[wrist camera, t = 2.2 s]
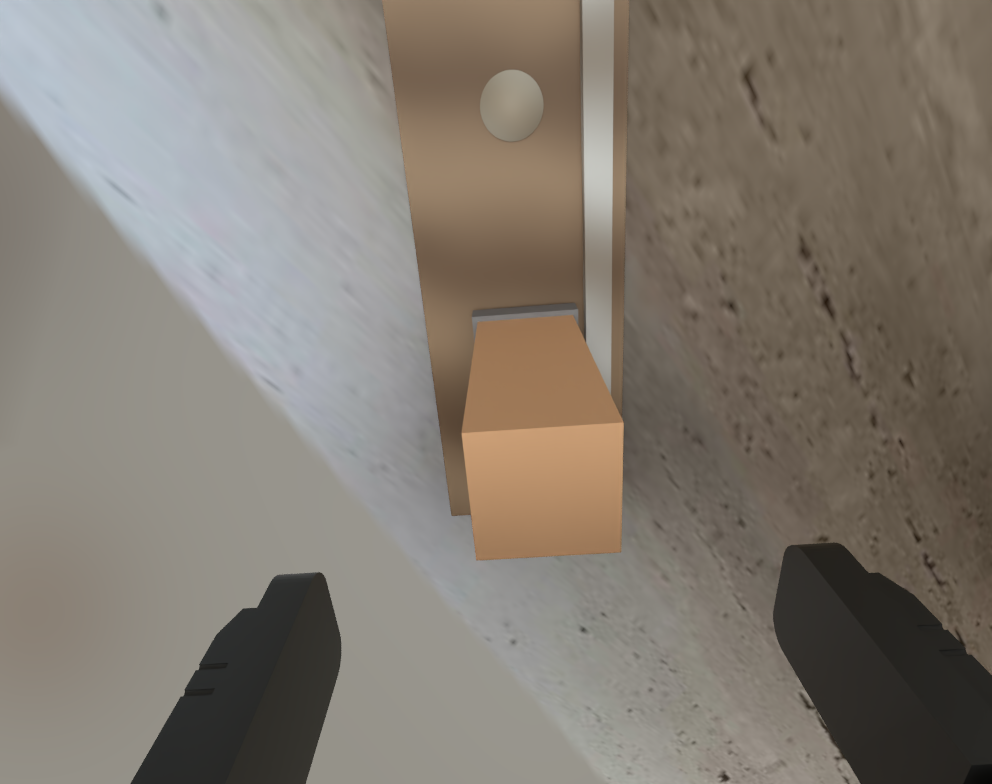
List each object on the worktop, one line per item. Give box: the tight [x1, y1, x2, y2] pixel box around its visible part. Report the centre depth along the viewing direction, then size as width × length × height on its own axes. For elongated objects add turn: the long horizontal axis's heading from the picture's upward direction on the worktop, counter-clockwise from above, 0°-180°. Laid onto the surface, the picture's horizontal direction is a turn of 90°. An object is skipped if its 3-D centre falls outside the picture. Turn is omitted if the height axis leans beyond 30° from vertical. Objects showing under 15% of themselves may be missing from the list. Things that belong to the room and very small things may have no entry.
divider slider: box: [462, 303, 624, 560], centre depth 17 cm, size 4×4×10 cm
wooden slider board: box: [382, 0, 629, 516], centre depth 19 cm, size 24×8×6 cm, turn 4°
